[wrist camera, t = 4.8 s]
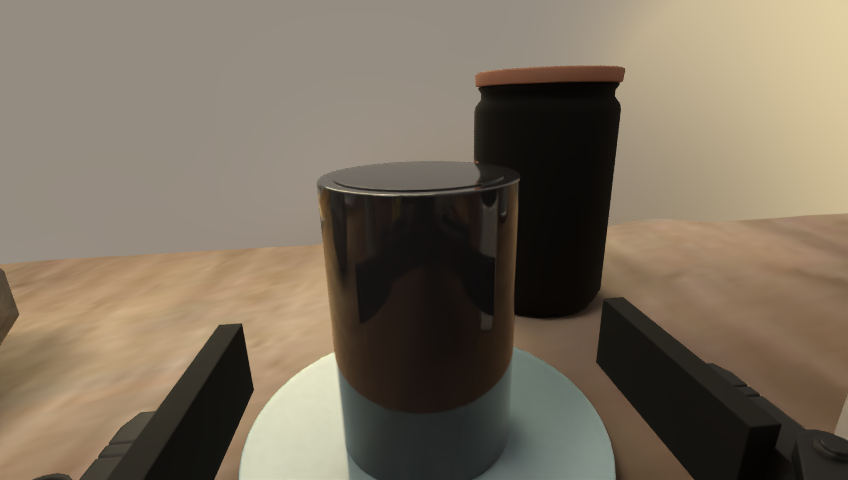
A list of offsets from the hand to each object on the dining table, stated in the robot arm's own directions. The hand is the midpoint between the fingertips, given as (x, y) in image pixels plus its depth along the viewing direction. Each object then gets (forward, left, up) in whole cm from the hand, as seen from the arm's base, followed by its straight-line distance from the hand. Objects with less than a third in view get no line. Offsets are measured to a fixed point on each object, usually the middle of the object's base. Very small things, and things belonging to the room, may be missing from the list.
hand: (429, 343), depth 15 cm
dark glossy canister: (0, -3, -6) cm, 7 cm away
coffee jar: (-11, -19, -8) cm, 24 cm away
